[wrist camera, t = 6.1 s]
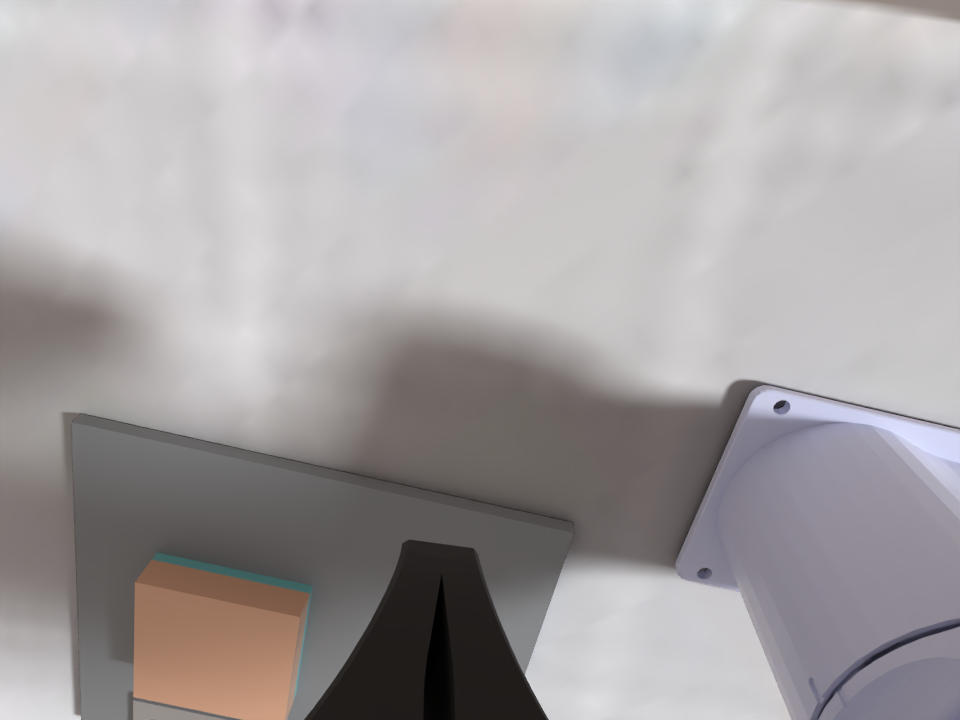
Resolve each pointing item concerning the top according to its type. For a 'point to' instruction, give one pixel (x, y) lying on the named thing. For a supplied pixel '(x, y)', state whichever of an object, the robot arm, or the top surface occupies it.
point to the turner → (170, 712)
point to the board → (274, 546)
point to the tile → (218, 638)
